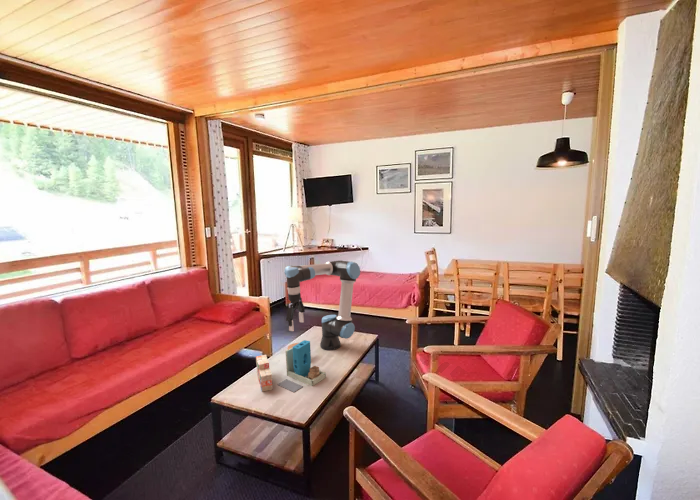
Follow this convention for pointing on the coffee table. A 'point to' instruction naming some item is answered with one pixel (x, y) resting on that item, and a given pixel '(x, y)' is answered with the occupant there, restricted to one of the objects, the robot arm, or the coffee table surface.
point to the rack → (298, 377)
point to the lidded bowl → (292, 345)
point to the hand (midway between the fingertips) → (296, 326)
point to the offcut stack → (313, 372)
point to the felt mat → (290, 385)
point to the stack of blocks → (264, 373)
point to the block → (302, 358)
